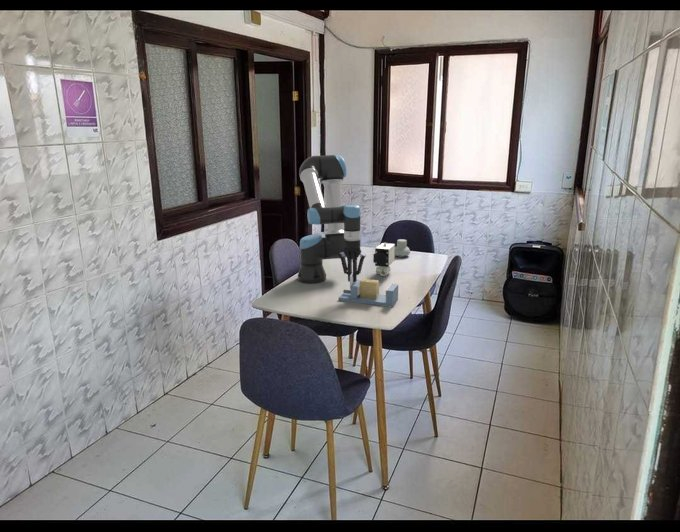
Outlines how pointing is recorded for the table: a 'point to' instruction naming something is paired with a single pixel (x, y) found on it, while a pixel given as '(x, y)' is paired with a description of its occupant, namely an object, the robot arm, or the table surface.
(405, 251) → the air freshener
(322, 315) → the table surface
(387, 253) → the white pneumatic actuator
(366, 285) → the wooden block
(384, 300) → the vise
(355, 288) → the free jaw
